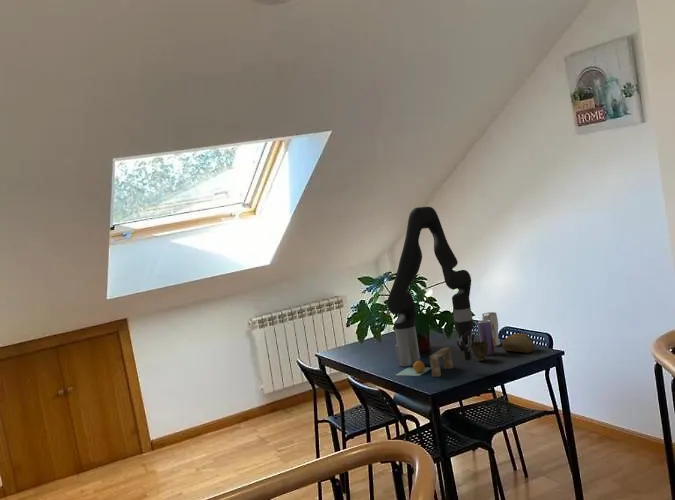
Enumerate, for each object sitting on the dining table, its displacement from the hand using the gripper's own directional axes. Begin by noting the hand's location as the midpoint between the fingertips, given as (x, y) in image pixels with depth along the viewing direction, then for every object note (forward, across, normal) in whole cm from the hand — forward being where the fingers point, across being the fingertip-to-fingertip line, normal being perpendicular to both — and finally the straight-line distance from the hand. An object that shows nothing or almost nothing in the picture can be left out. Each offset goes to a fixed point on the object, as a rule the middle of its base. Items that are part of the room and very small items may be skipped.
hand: (468, 359), depth 301 cm
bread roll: (+6, -33, +9) cm, 35 cm away
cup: (+6, -18, -3) cm, 19 cm away
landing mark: (+6, 0, -26) cm, 27 cm away
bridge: (+6, 0, -12) cm, 14 cm away
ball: (+3, +1, -23) cm, 23 cm away
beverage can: (+6, -29, -4) cm, 30 cm away
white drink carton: (+6, -45, -8) cm, 46 cm away
